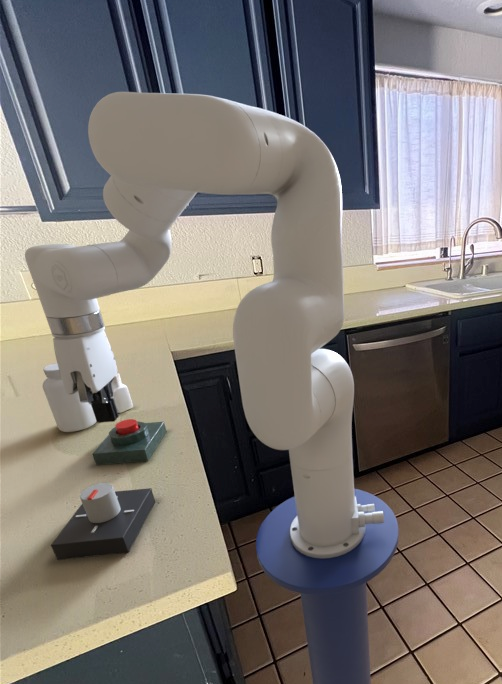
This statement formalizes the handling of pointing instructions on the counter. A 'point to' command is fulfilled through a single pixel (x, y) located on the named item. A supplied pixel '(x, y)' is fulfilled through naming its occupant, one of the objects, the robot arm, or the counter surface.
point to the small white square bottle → (121, 395)
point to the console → (130, 444)
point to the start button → (127, 427)
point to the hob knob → (100, 502)
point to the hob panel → (105, 528)
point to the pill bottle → (66, 403)
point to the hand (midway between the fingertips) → (108, 419)
